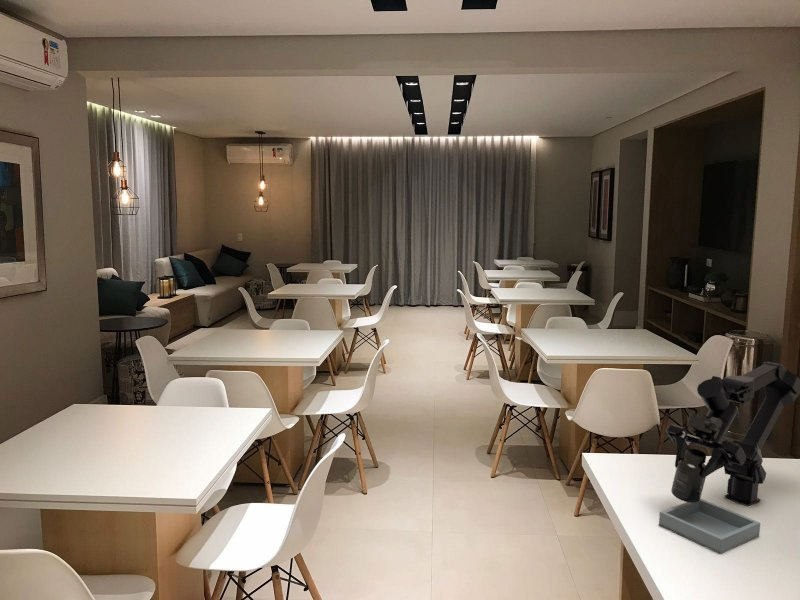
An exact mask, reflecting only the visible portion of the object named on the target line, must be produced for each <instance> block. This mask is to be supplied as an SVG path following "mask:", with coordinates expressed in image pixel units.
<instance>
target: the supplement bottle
mask: <svg viewBox="0 0 800 600" xmlns="http://www.w3.org/2000/svg"><path fill="white" fill-rule="evenodd" d="M706 460H707V454H706V452H704V451H702V450H701V449H698V448H697V449H696V448H693V447H690V448H688V449H686V450H685V454H684V458H681V459H680V460H679V461H678V464H677V468H676V467H675V468H676V469H675V473H674V478H673V481H672V485H671V489H670V490H671V494H672V495H673V496H674V497H675V498H676V499H678V500H680V501H683V502H684V503H686V502H689V503H696V502H698V501H699V500H700V498H701V497H702V494H703V490H704V487H705V481H706V478H707V476H706V477H705V478H702V476H701V474H702V472H703V469H704V468H705V466H706V464H705V463H706ZM701 499H702V498H701Z"/></svg>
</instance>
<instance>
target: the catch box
mask: <svg viewBox="0 0 800 600" xmlns="http://www.w3.org/2000/svg"><path fill="white" fill-rule="evenodd" d="M658 526H659V527H661V528H663V529H665V530H667V531H669V532H672V533H674V534H677V535H679V536H680V537H682V538H685V539H688V540H689V541H691V542H694V543H696V544H697V545H700V546H702V547H704V548H706V549H709V550H711V551H713V552H715V553H716V554H719V555H722V554H723V553H726V552H728V551H731V550H732V549H735V548H737V547H739V546H741V545H744V544H745V543H748V542H751V541H752V540H755V539H757V538H759V537H760V532H761V522H759V521H758V520H754V519H752V518H750V517H748V516H745V515H741V514H740V513H738V512H735V511H733V510H730V509H727V508H725V507H723V506H721V505H717V504H715V503H713V502H710V501H708V500H705V499H703V498H700V500H699V501H698V502H696V503H689V502H683V503H681V504H678V505H675V506H672V507H670V508H667V509H665V510H661V511H659V520H658Z"/></svg>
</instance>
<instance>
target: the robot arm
mask: <svg viewBox="0 0 800 600" xmlns="http://www.w3.org/2000/svg"><path fill="white" fill-rule="evenodd" d="M763 387H764V393H765V397H764V400H763V402H762V403H761V405H760V407H759V409H758V411H757V412H756V415H755V417H754V419H753V420H752V422H751V423H750V426H749V428H748V429H747V431H746V433H745V435H744V436H743V438H742V439H741V440H733V441H729V440H727V439H726V440H723V439H724V437H728V436H729V434H730V433H729V428H730V426H731V424H732V423H733V421H734V419H735V418H737V419H738V418H740V412H739V407H738V406H737V405H736V404H735V403H738V404H742V405H747V404H748V403H750V401H751V400H752V399H754V398H755V392H756V391H758V390H760V389H762V388H763ZM696 389H697V394H698V396H699V397H700V399H701V400H702V401H703V403H704V406H705V407H706V408H707V409H708V412H707V414H706V415H704V414H703V415H702V416H701V415H696V414H694V413H689V416H688V419H687V423H686V427H689V428H691V432H692V433H693V434H695V435H693V434H691V433H689V431H687V429H686V427H684V426H681V425H677V424H673V423H672V424H669V425H668V427H667V428H666V429H665V432H666V434H667V435H668V437H669V438H670V440H671V441H672V443H673V444H675V445H676V455H675V456H676V457H675V460H674V467H675V468H677V464H678V461H679V460H680V459H681V458H684V454H685V450H686V449H688V448H691V447H690V444H694V445H697V446H700V447H703V448H705V449H706V448H707V449H709V450H712V451H711V456H710V457H709V460H708V462H707V463H706V464H705V465H706V466H705V468H704V469H703V472H702V474H701V476H702V478H705V477H706V478H707V477H708V476H709V475H711V474H713V473H714V472H716V471H718V470H719V469H721V468H723V469H724V474H725V475H729V478H728V479H727V488H726V493H727V494H725V495H724V498H726V499H729V500H732V501H734V502H736V503H739V504H742V505H743V506H749V507H750V506H751V505H753V504H755V503H758V502H761V498H760V497H758V495H759V494H758V492H759V484H760V485H761V484H764V482H765V481H766V477H767V472H766V470H765V468H764V467H763V465H762V464H763V462H764V459H763V456H762V449H763V446H764V445H765V443H766V441H767V439H768V437H769V436H770V433H771V432H772V430H773V428H774V427H775V425H776V422H777V420H778V418H779V417H780V415H781V413H782V412H783V409H784V408H785V407H786V406H789V405H790V404H793V403H794V402H795V401H796V400H797V398H798V397H799V395H800V378H799V377H798V375H796V374H794V373H793V372H791V371H790V370H788V369H787V368H786V367H785V365H783V364H781V363H774V362H771V361H766V362H765V361H764V362H763V363H762V364H761V365H760V366H758V367H756V368H754V369H752V370H750V371H748V372H747V373H744V374H742V375H731V376H725V377H723V378H721V377H720V376H717V375H716V376H715V375H712V377H711V378H709V379H705V380H703V381H702V382H700V383H699V384H698V385H697V388H696ZM721 442H722V443H721Z"/></svg>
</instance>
